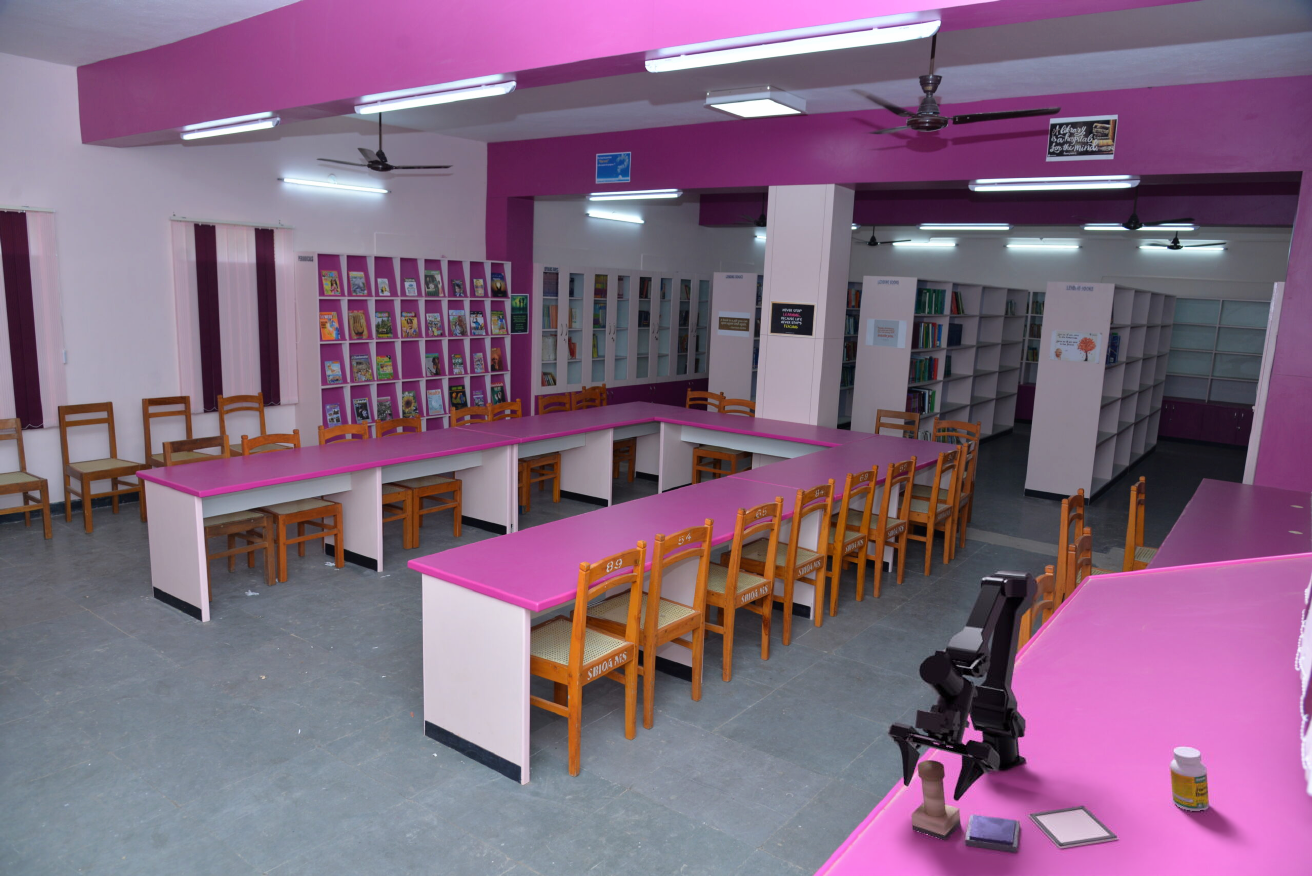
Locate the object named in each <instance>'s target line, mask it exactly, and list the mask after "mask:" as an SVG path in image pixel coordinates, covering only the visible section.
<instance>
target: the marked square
mask: <svg viewBox="0 0 1312 876" xmlns="http://www.w3.org/2000/svg"><path fill="white" fill-rule="evenodd" d="M1028 817H1029V818H1030V819H1031V820H1032V821H1033V822H1034V823H1035V825H1036V826H1037V827H1038V828H1039V829H1040V830H1041V831H1042V832H1043V833H1044V834H1045V835H1046V836H1047V838H1049V839H1050V840H1051V841H1052V843H1054V844H1055V846H1056V847H1057V848H1058V849H1060V850H1061V849H1065V848H1073V847H1080V846H1085V845H1092V844H1098V843H1105V842H1111V841H1118V840H1119V837H1118V836H1117V834H1115V833H1114V832H1113V831H1112V830H1111V829H1109V827H1107V826H1106V825H1105V824H1104V822H1103V823H1102V821H1100V819H1098V818H1097V817H1096V816H1095V815H1094V814H1093V813H1092V812H1091V811H1090V810H1089V809H1087V808H1086V807H1085V806H1084V805H1079V806H1072V807H1065V808H1059V809H1053V810H1047V811H1040V812H1034V813H1029V814H1028Z"/></svg>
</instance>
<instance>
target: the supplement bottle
mask: <svg viewBox="0 0 1312 876" xmlns="http://www.w3.org/2000/svg"><path fill="white" fill-rule="evenodd" d="M1173 758H1174V759H1172V760H1171V761H1170V764H1169V766H1170V767H1169V769H1170V770H1169V771H1170V781H1171V796H1172V801H1173V804H1176V805H1177V807H1178V808H1179V807H1180V808H1179V809H1181V808H1183V809H1182V810H1184V809H1186V810H1185V811H1187V810H1190V811H1189V812H1192V811H1200V810H1204V811H1207V810H1208V808H1209V807H1210V804H1209V803H1210V801H1209V785H1208V771H1207V768H1206V766H1205V764H1204V763H1203V762H1202V753H1201V752H1200V751H1199V750H1198V749H1196V748H1194V747H1190V746H1189V747H1188V746H1177V747H1175V748H1174V749H1173ZM1176 805H1175V806H1176Z"/></svg>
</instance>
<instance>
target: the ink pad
mask: <svg viewBox="0 0 1312 876" xmlns="http://www.w3.org/2000/svg"><path fill="white" fill-rule="evenodd" d="M1020 827H1021V826H1020V820H1015V819H1009V818H1001V817H993V816H985V815H977V814H970V815H969V820H968V824H967V829H966V834H965V839H964V841H965V843H964V844H965V846H966V847H974V848H980V849H988V850H995V851H1000V852H1001V851H1002V852H1006V853H1007V852H1009V853H1015V854H1017V853H1018V847H1019V837H1020Z"/></svg>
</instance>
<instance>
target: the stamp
mask: <svg viewBox="0 0 1312 876" xmlns="http://www.w3.org/2000/svg"><path fill="white" fill-rule="evenodd" d="M917 772H918V777H919V778H920V779H921V788H922V789H921V791H922V799H923V802H922V803H921V804H920V805H919V806H918V807H917V808H916V809H915V810H914V811H912V813H911V814H910V815H911V816H910V817H911V825H912V831H913V830H915V831H914V832H916V831H919V832H921V833H920V834H922V833H925V834H928V835H930V836H929V837H931V836H933V837H932V838H934V837H937V838H939V839H938V840H940V839H942V840H941V841H943V840H944V841H943V842H946V841H947V840H948V839H949V838H950V836H952V834H954V833H955V831H956V830H957V829H958V828H959V827H960V826H961V825H962V824H961V815H960V814H961V813H960V808H959V807H955V806H952V805H949V804H946V799H945V789H944V788H945V786H944V778H945V777H946V774H945V765H944V764H943V763H942V762H940V761H938V760H932V759H929V760H923V761H920V762H919V763H917ZM919 832H918V833H919ZM925 834H924V835H925ZM928 835H927V836H928ZM937 838H936V839H937Z"/></svg>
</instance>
